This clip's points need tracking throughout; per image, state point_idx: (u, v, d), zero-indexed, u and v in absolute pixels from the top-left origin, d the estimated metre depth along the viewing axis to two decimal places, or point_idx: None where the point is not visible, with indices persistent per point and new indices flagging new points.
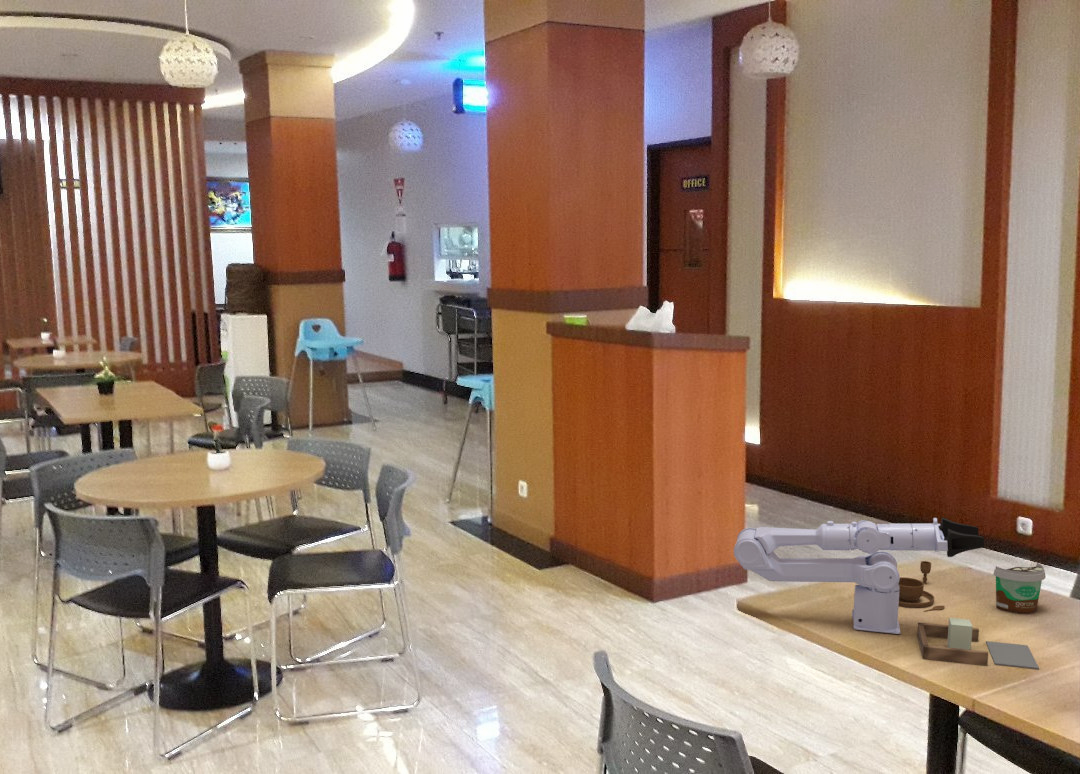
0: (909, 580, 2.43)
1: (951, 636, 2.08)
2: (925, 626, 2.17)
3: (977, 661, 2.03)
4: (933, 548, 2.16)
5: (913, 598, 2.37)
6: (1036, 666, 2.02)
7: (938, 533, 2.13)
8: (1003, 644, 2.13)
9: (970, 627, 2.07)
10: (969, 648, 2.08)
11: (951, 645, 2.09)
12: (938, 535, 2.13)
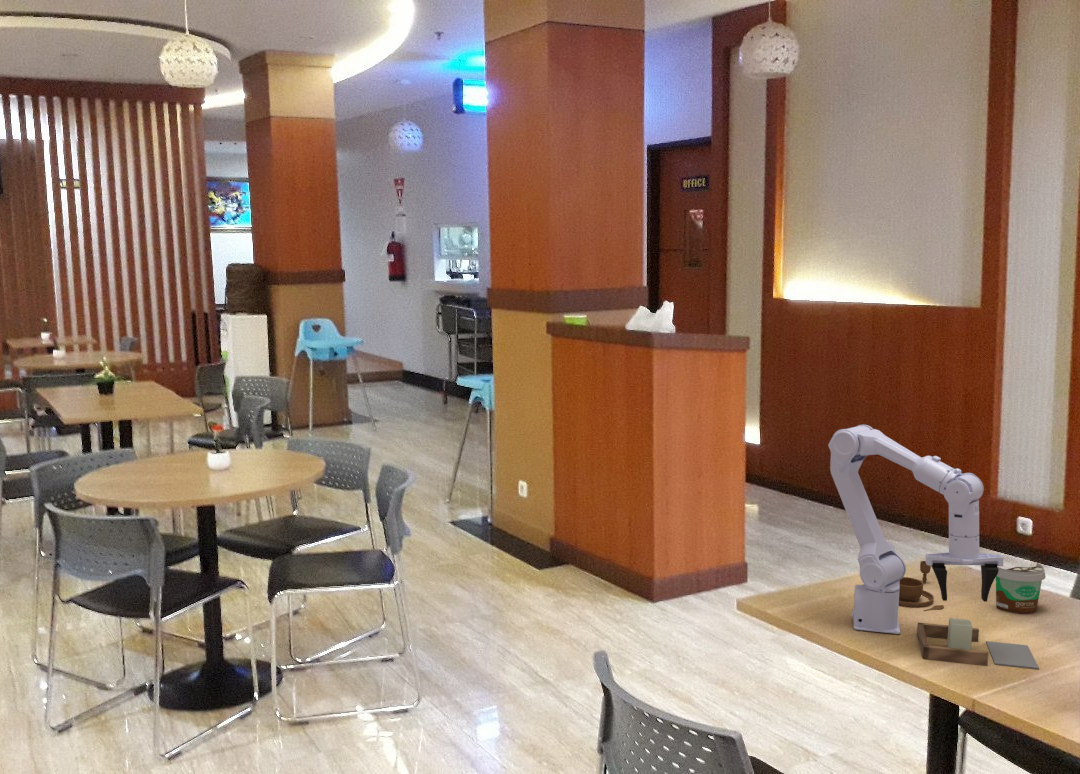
0: (909, 580, 2.43)
1: (951, 636, 2.08)
2: (925, 626, 2.17)
3: (977, 661, 2.03)
4: None
5: (912, 598, 2.38)
6: (1036, 666, 2.02)
7: (945, 560, 2.07)
8: (1003, 644, 2.13)
9: (970, 627, 2.07)
10: (969, 648, 2.08)
11: (951, 645, 2.09)
12: (941, 559, 2.08)
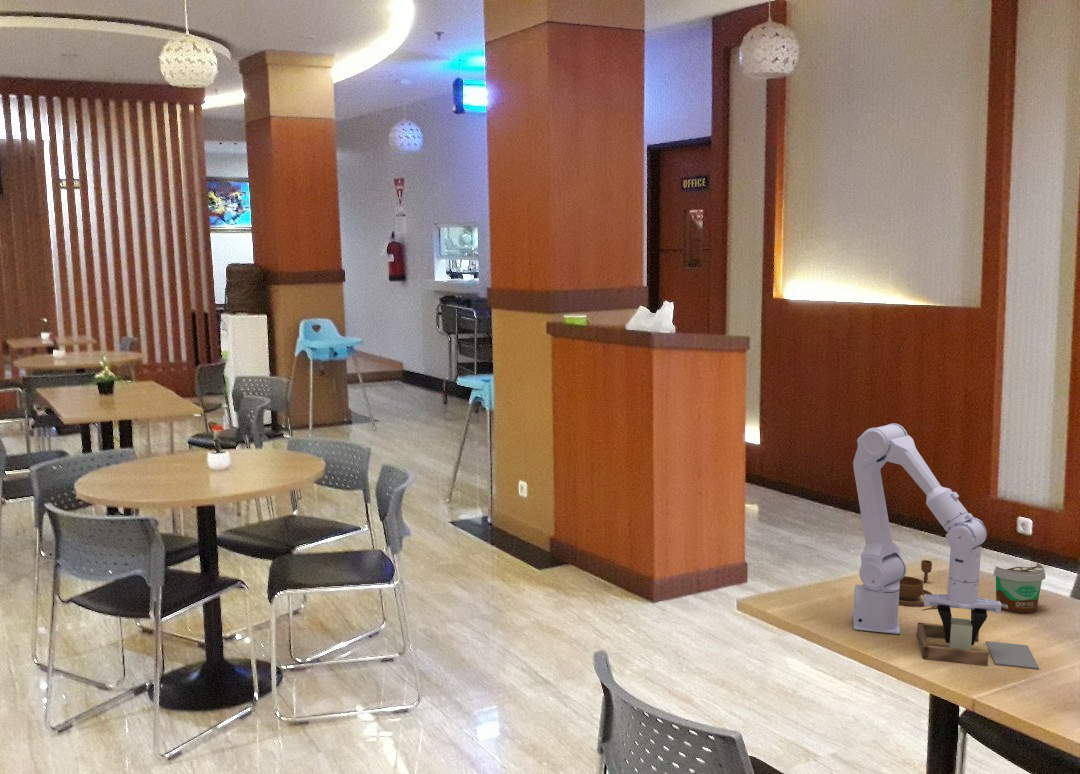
0: (909, 579, 2.44)
1: (951, 636, 2.08)
2: (925, 626, 2.17)
3: (977, 661, 2.03)
4: None
5: (912, 597, 2.38)
6: (1036, 666, 2.02)
7: (942, 602, 2.08)
8: (1003, 644, 2.13)
9: (970, 627, 2.07)
10: (969, 648, 2.08)
11: (951, 645, 2.09)
12: (939, 601, 2.09)
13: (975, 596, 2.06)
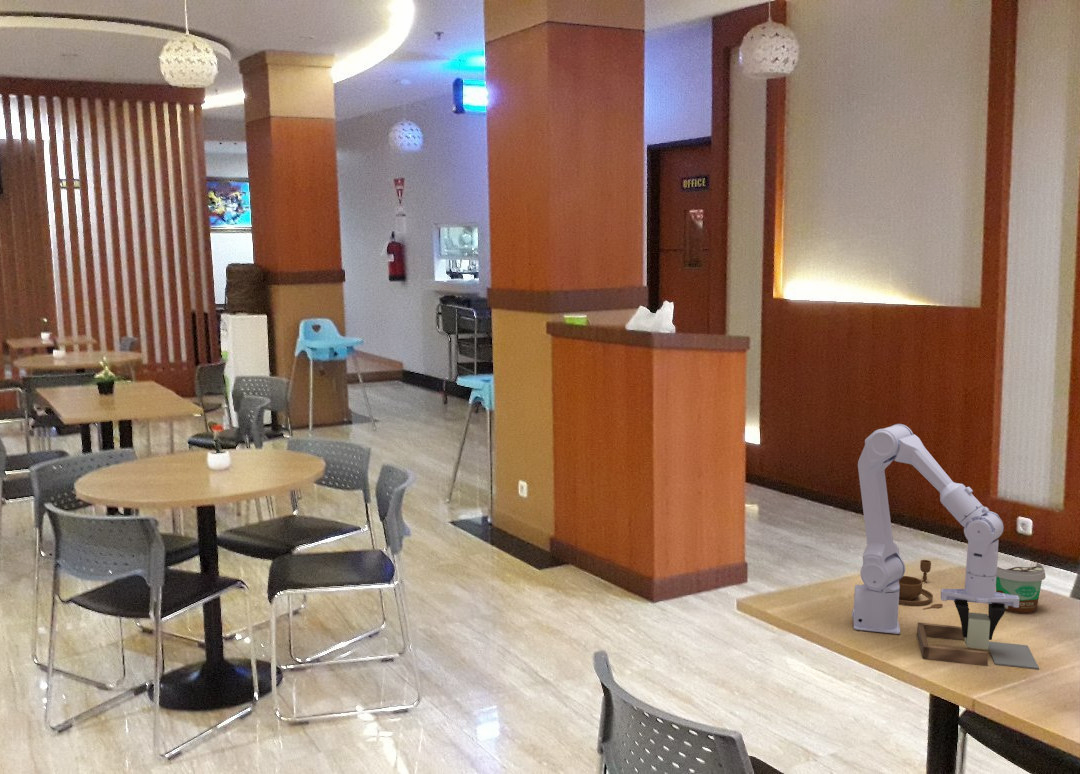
0: (908, 578, 2.44)
1: (969, 630, 2.07)
2: (925, 626, 2.17)
3: (977, 661, 2.03)
4: None
5: (911, 596, 2.38)
6: (1036, 666, 2.02)
7: (960, 597, 2.07)
8: (1003, 644, 2.13)
9: (988, 621, 2.06)
10: (987, 642, 2.07)
11: (969, 639, 2.08)
12: (956, 596, 2.08)
13: (993, 590, 2.05)
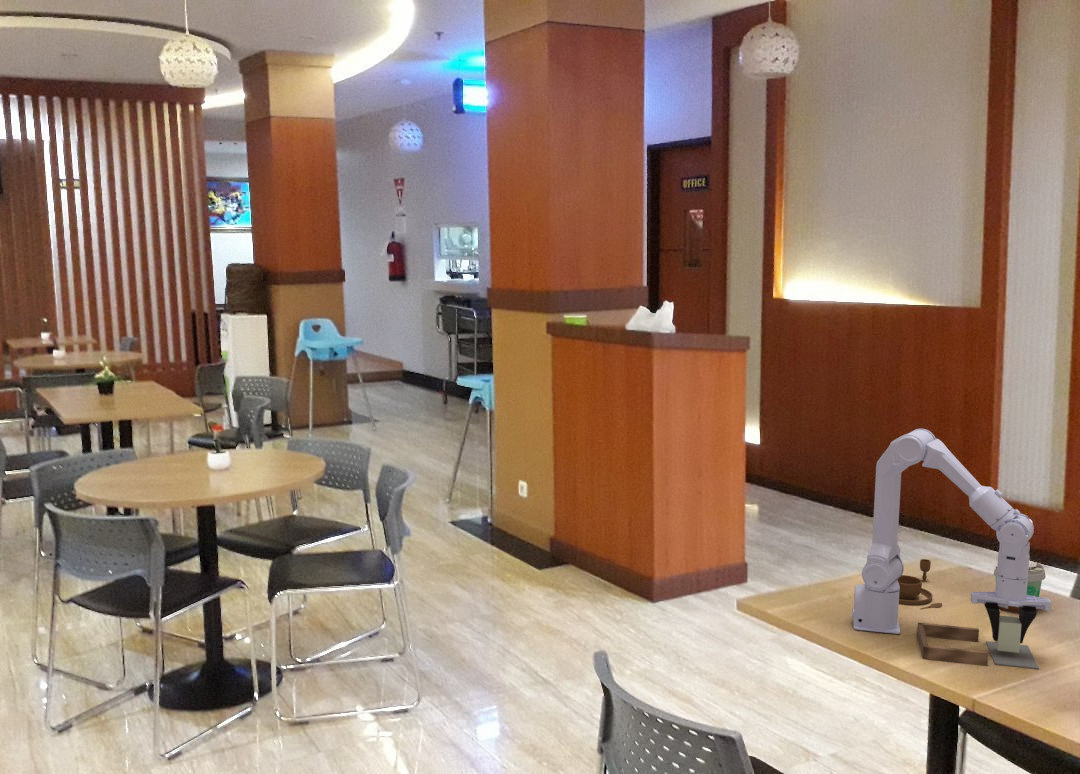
0: (908, 578, 2.44)
1: (999, 634, 2.06)
2: (925, 626, 2.17)
3: (977, 661, 2.03)
4: None
5: (911, 595, 2.39)
6: (1036, 666, 2.02)
7: (991, 600, 2.06)
8: None
9: (1019, 624, 2.05)
10: (1018, 646, 2.05)
11: (999, 643, 2.06)
12: (987, 599, 2.06)
13: (1024, 593, 2.04)
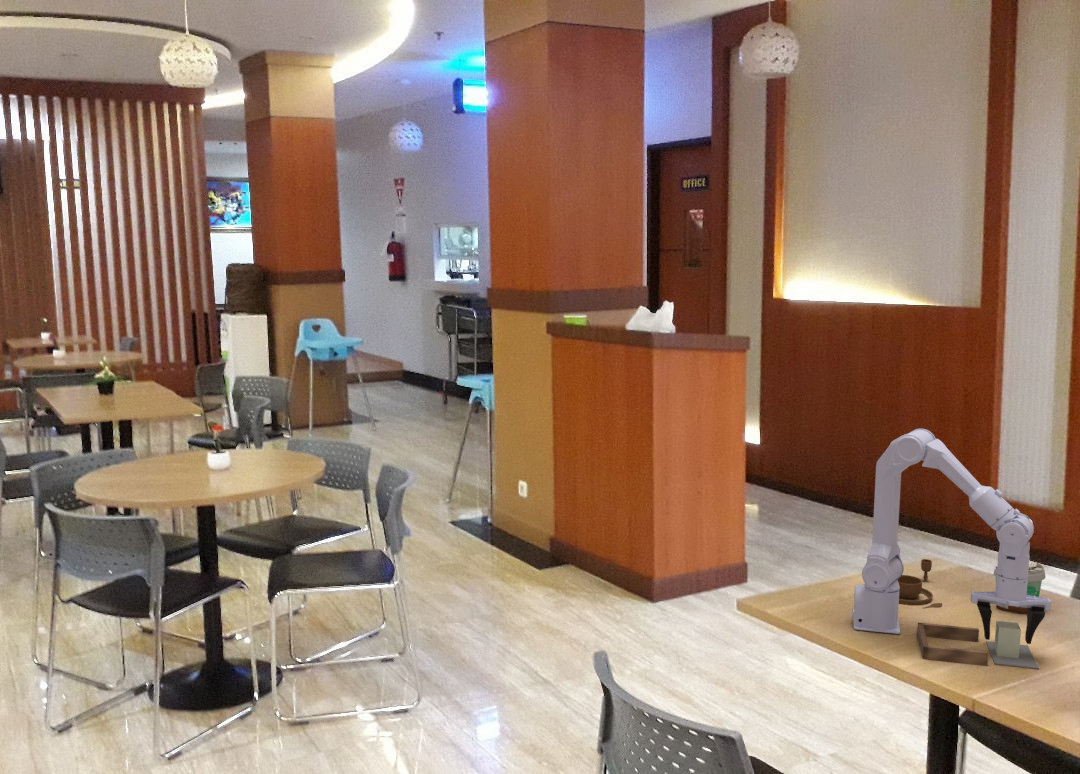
0: (908, 578, 2.45)
1: (999, 639, 2.06)
2: (925, 626, 2.17)
3: (977, 661, 2.03)
4: None
5: (911, 595, 2.39)
6: (1036, 666, 2.02)
7: (991, 599, 2.06)
8: None
9: (1018, 630, 2.05)
10: (1017, 651, 2.05)
11: (999, 648, 2.06)
12: (987, 598, 2.06)
13: (1024, 593, 2.04)
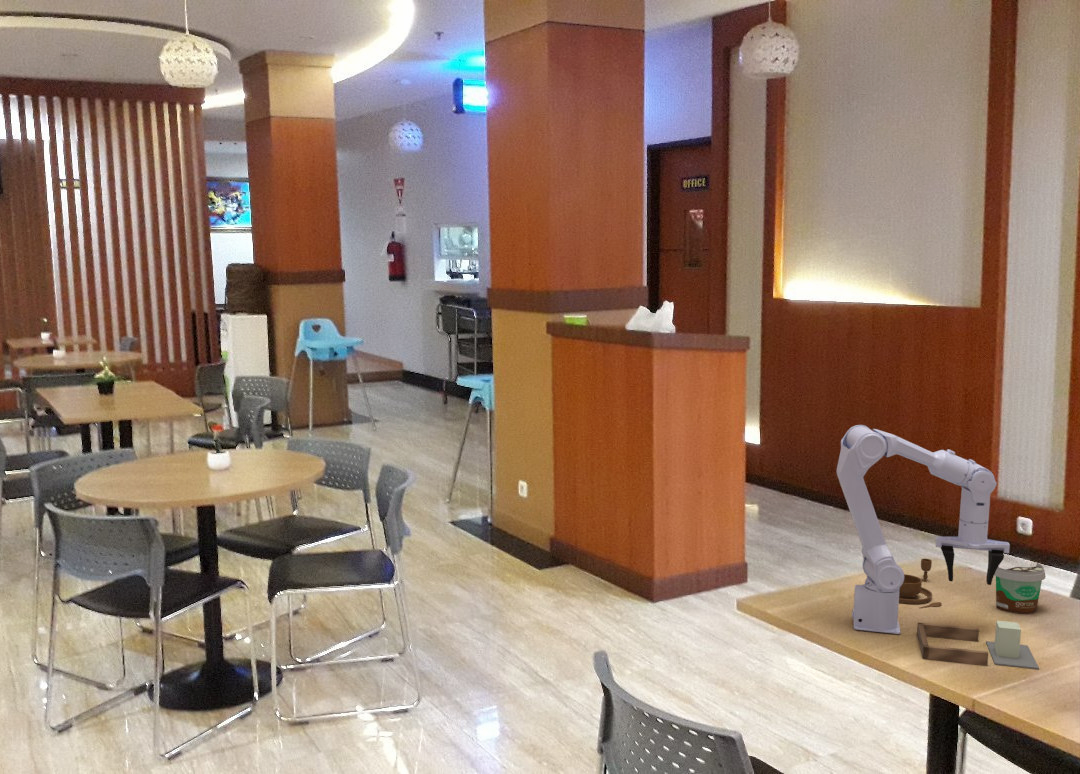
0: (908, 577, 2.45)
1: (999, 639, 2.06)
2: (925, 626, 2.17)
3: (977, 661, 2.03)
4: None
5: (911, 594, 2.39)
6: (1036, 666, 2.02)
7: (953, 543, 2.19)
8: None
9: (1018, 630, 2.05)
10: (1017, 651, 2.05)
11: (999, 648, 2.06)
12: (950, 542, 2.20)
13: (985, 537, 2.17)
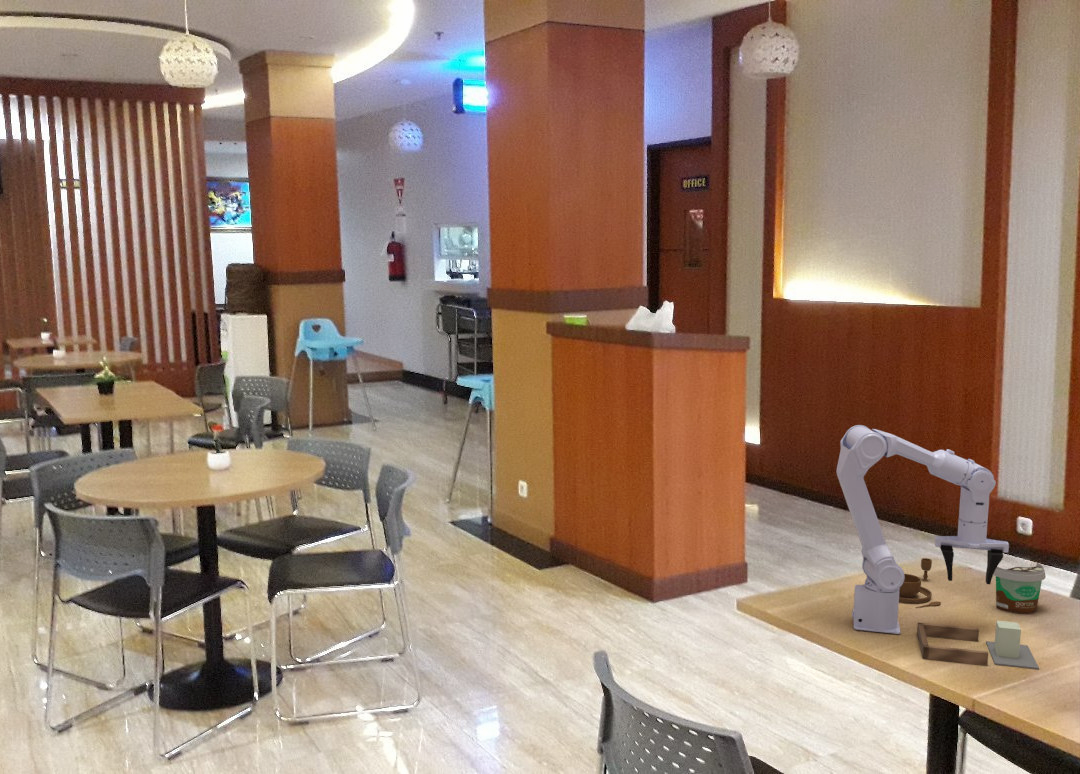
0: (907, 576, 2.45)
1: (999, 639, 2.06)
2: (925, 626, 2.17)
3: (977, 661, 2.03)
4: None
5: (910, 594, 2.40)
6: (1036, 666, 2.02)
7: (953, 543, 2.20)
8: None
9: (1018, 630, 2.05)
10: (1017, 651, 2.05)
11: (999, 648, 2.06)
12: (949, 542, 2.20)
13: (984, 536, 2.18)
